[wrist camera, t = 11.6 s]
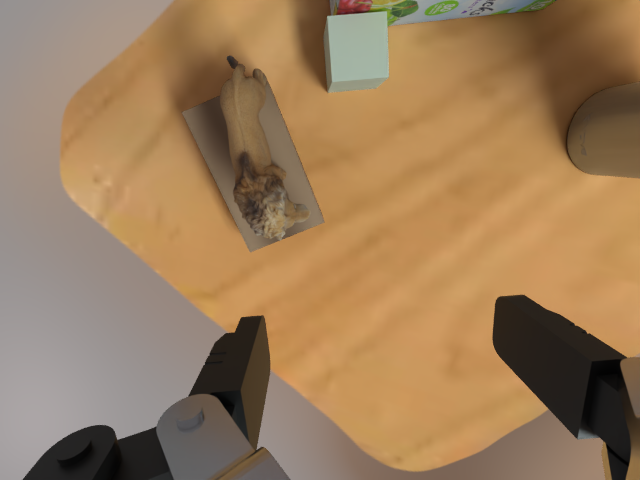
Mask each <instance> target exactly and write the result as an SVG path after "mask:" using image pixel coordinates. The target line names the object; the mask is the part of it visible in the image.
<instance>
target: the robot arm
mask: <svg viewBox="0 0 640 480" xmlns="http://www.w3.org/2000/svg"><path fill="white" fill-rule="evenodd" d="M567 147H568V152H569V155H570V157H571V160H572V162H573V163H574V164H575V165H576V167H577V168H579V169H580V170H582V171H583V172H585V173H588V174H592V175H602V176H615V177H627V178H640V82H635V83H630V84H626V85H621V86H616V87H612V88H608V89H605V90H602V91H600V92H598V93H596V94H594V95H593V96H592V97H590V98H589V99H588V100H587V101H585V102H584V104H583V105H582V106H581V107H580V108H579V109H578V111H577V113H576V114H575V116H574V117H573V120H572V122H571V124H570V127H569V131H568V136H567ZM493 345H494V348H495V350H496V352H497V354H498V355H499V357H500V358H501V359H502V360H503V361H504V362H505V363H506V364H507V365H508V366H509V367H510V368H511V369H512V370H513V372H514V373H515V374H516V375H517V376H518V377H519V378H520V379H521V380H522V381H523V382H524V383H525V384H526V385H527V386H528V387H529V388H530V390H531V391H532V392H533V393H534V394H535V395H536V396H537V397H538V398H539V399H540V400H541V401H542V402H543V403H544V404H545V405H546V407H547V408H548V409H549V410H550V411H551V412H552V413H553V414H554V415H555V416H556V417H557V418H558V419H559V420H560V421H561V422H562V423H563V425H565V427H566V428H567V429H568V430H569V431H570V432H571V433H572V434H573V435H574V436H575V437H576V438H577V439H587V438H599V437H600V438H601V439H602V440H603V441H604V442H603V447H602V460H603V467H604V473H605V479H606V480H640V357H630V358H627V357H626V356H624V355H622V354H621V353H619V352H618V351H616V350H615V349H613V348H612V347H610V346H608V345H607V344H605V343H604V342H602V341H601V340H599V339H597V338H596V337H594V336H593V335H591V334H590V333H589V334H587V332H586V331H585V330H583V329H582V328H580V327H579V326H575V324H574V323H572V322H571V321H569V320H568V319H566V318H565V317H563V316H561V315H559V314H557V313H554V312H552V311H549V310H547V309H545V308H543V307H542V306H540V305H539V304H537V303H536V302H534V301H533V300H531V299H530V298H528V297H526V296H525V295H513V296H501V297H498V298H497V300H496V303H495V313H494V325H493ZM269 376H270V353H269V346H268V338H267V330H266V323H265V318H264V316H263V315H262V316H250V317H241V319H240V321H239V324H238V326H237V328H236V331H235V333H226V334H224V335H223V336H222V337H221V338H220V339H219V340H218V341H216V342H215V344H214V346H213V348H212V350H211V352H210V356H208V358H207V360H206V362H205V365H204V366H203V368H202V370H201V372H200V374H199V376H198V378H197V380H196V382H195V384H194V386H193V388H192V390H191V392H190V394H189V396H188V397H186V398H184V399H182V400H180V401H178V402H176V403H175V404H173V405H172V406H171V407H170V408H168V409H167V410H166V411H165V412H164V414H163V415H162V416H161V418H160V420H159V421H158V424H157V426H156V427H154V428H152V429H149V430H146V431H143V432H140V433H138V434H134V435H132V436H128V437H125V438H122V439H119V440H117V438H116V435H115V431H114V430H113V429H112V428H111V427H109V426H106V425H95V426H90V427H87V428H84V429H81V430H78V431H76V432H74V433H72V434H70V435H68V436H67V437H65V438H63V439H62V440H60V441H59V442H57V443H56V444H55V445H53V446H52V447H51V448H50V449H49V450H48V451H47V452H46V453H44V455H43V456H42V457H41V458H40V459H39V460H38V461H37V463H36V464H35V465H34V467H33V468H32V469H31V470H30V471H29V473H28V474H27V475H26V476H25V477H24V479H23V480H290V479H289V477H288V476H287V475H286V473H285V472H284V470H283V469H282V468H281V467H280V465H279V464H278V463H277V461H276V460H275V459H274V457H273V456H272V455H271V453H270V452H269V451H268V450H267V449H266V448H264V447H261V448H259V449H258V450H256V449H257V443H258V437H259V432H260V427H261V421H262V415H263V410H264V404H265V398H266V392H267V387H268V381H269Z"/></svg>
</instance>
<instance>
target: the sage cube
mask: <svg viewBox="0 0 640 480" xmlns="http://www.w3.org/2000/svg"><path fill="white" fill-rule="evenodd" d="M323 38H324V51H325V65H326V78H327V91H328V93H330V92H342V91H353V90H365V89H376V88H377V87H378V86H379V85H381V84H382V83H383V82H384V81H385V80H386V79H387V78H388V77H389V65H388V29H387V11H384V12H372V13H359V14H347V15H335V16H327V21H326V26H325V32H324V37H323Z"/></svg>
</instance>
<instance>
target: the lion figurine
mask: <svg viewBox="0 0 640 480" xmlns="http://www.w3.org/2000/svg"><path fill="white" fill-rule="evenodd" d="M227 60H228V62H229V63H230V66H231V67H232V68H233V69H235V70H234V72H233V74H232V78H231V79H229V80H227V81H226V82H225V84H224V85H223V87H222V90H221V95H220V105H221V109H222V112H223V115H224V117H225V120H226V124H227V130H228V139H229V150H230V157H231V161H232V165H233V169H234V172H235V175H236V177H235V187H234V190H233V195H234V198H235V200H234V202H235V203H237V205H238V207H239V210H240V212H241V213H242V218H243V219H245V220H246V222H247V223H248V224H249V225H250V228H251V229H252V230H253V231H254V232H255V234H256V235H262V236H263V237H265V238H269V239H272V238H273V237H276V238H277V239H278V240H281V239H282V237H283V236H284V235H285V234H286V233H285V231H286V229H287V228H290V227H292V226H293V224H294V223H296V222H304V221H305V220H306V219H308V218H309V216H310V210H309V209H308V208H307V206H306V205H304V204H295V203H293V202H291V201H290V200H289V196H288V193H287V191H286V189H285V187H284V184H283V180H284V179H285V178H286V175H287V173H286V172H285V171H284V170H283V169H282V168H280V167H279V166H275V165H274V164H272V163H271V153H270V149H269V145H268V142H267V139H266V136H265V132H264V130H263V127H262V125H261V123H260V120H259V113H260V110H261V109H262V108H263V106H264V104H265V100H266V90H265V87H266V85H267V78H266V76H265V75H264V73H263V72H262V71H261V70H260V69H254V71H253V78H252V77H245V75H244V71H245V66H244V65H243V64H238V62H237V61H236V60H235V59H234V58H233V57H232V56H227Z"/></svg>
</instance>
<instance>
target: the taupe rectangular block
mask: <svg viewBox="0 0 640 480" xmlns="http://www.w3.org/2000/svg"><path fill="white" fill-rule="evenodd" d="M265 90H266V100H265V104H264V106H263V108H262V109H261V110H260V113H259V120H260V123H261V125H262V127H263V130H264V132H265V136H266V139H267V142H268V145H269V149H270V153H271V163H272V164H274V165H275V166H279V167H280V168H282V169H283V170H284V171H285V172H286V173H287V175H286V178H285V179H284V180H283V184H284V187H285V189H286V191H287V193H288V196H289V200H290V201H291V202H293V203H295V204H304V205H306V206H307V208H308V209H309V210H310V216H309V218H308V219H306V220H305V221H304V222H296V223H294V224H293V226H292V227H290V228H287V229H286V231H285V233H286V234H285V235H284V236H283V237H282V239H285V238H287V237H290V236H292V235H294V234H297V233H299V232H302V231H304V230H307V229H309V228H312V227H314V226H317V225H319V224H322V223H324V219H323V216H322V213H321V210H320V208H319V205H318V203H317V201H316V198H315V196H314V193H313V191H312V188H311V186H310V183H309V181H308V178H307V176H306V173H305V171H304V168H303V166H302V163H301V161H300V159H299V156H298V154H297V151H296V149H295V146H294V144H293V141H292V139H291V136H290V134H289V131H288V129H287V126H286V124H285V121H284V119H283V117H282V114H281V112H280V109H279V107H278V104H277V102H276V99H275V97H274V94H273V92H272V89H271V87H270V85H269V83H268V81H267V85H266V87H265ZM182 114H183V116H184V118H185V120H186V122H187V124H188V126H189V128H190V130H191V132H192V134H193V137H194V139H195V141H196V143H197V145H198V147H199V149H200V151H201V153H202V155H203V157H204V159H205V161H206V163H207V165H208V167H209V169H210V171H211V173H212V175H213V177H214V179H215V181H216V184H217V186H218V188H219V190H220V192H221V194H222V196H223V198H224V200H225V202H226V204H227V206H228V208H229V210H230V212H231V214H232V216H233V218H234V220H235V222H236V224H237V226H238V228H239V231H240V233H241V235H242V237H243V239H244V241H245V243H246V245H247V247H248V249H249V251H250V252H252V251H255V250H257V249H260V248H262V247H265V246H267V245H270V244H272V243H275V242H277V241H280V240H278V239H277V238H276V237H273V238H272V239H269V238H265V237H263V236H262V235H256V234H255V232H254V231H253V230H252V229H251V228H250V225H249V224H248V223H247V222H246V220H245V219H243V218H242V213H241V212H240V210H239V207H238V205H237V203H235V202H234V200H235V198H234V195H233V190H234V187H235V177H236V175H235V172H234V169H233V165H232V161H231V157H230V150H229V139H228V130H227V124H226V120H225V117H224V115H223V112H222V109H221V105H220V96H218V97H216V98H213V99H211V100H209V101H206V102H204V103H202V104H200V105H197V106H195V107H193V108H190V109H188V110H186V111H183V112H182ZM282 239H281V240H282Z"/></svg>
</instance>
